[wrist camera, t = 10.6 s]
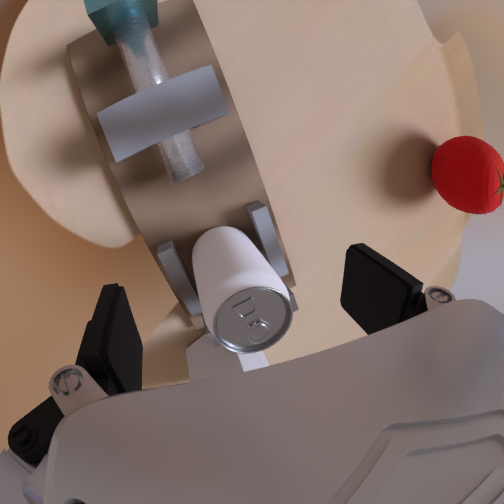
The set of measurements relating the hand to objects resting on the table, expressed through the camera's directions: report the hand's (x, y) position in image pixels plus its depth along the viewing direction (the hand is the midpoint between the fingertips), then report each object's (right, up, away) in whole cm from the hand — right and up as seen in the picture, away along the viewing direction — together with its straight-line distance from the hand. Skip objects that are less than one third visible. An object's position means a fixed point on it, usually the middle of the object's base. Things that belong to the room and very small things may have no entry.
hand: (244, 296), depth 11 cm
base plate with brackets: (-6, +10, +15) cm, 19 cm away
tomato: (+29, +15, +24) cm, 40 cm away
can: (-3, +2, +18) cm, 19 cm away
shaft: (-8, +16, +10) cm, 21 cm away
